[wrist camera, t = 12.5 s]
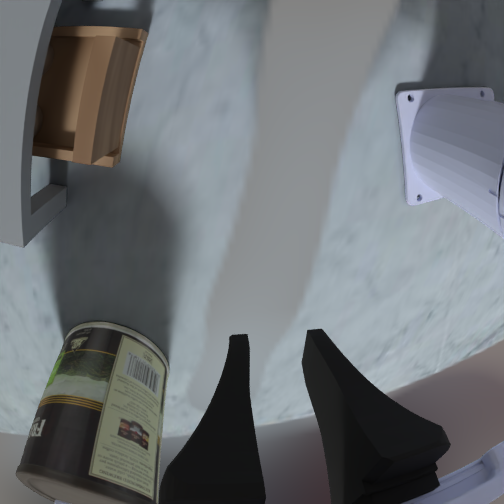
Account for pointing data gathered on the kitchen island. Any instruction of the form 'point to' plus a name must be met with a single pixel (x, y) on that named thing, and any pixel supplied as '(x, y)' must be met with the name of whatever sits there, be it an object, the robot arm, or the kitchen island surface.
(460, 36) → the kitchen island surface
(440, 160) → the robot arm
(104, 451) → the coffee can
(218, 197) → the kitchen island surface
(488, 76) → the kitchen island surface
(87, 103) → the tray
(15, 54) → the shelf
